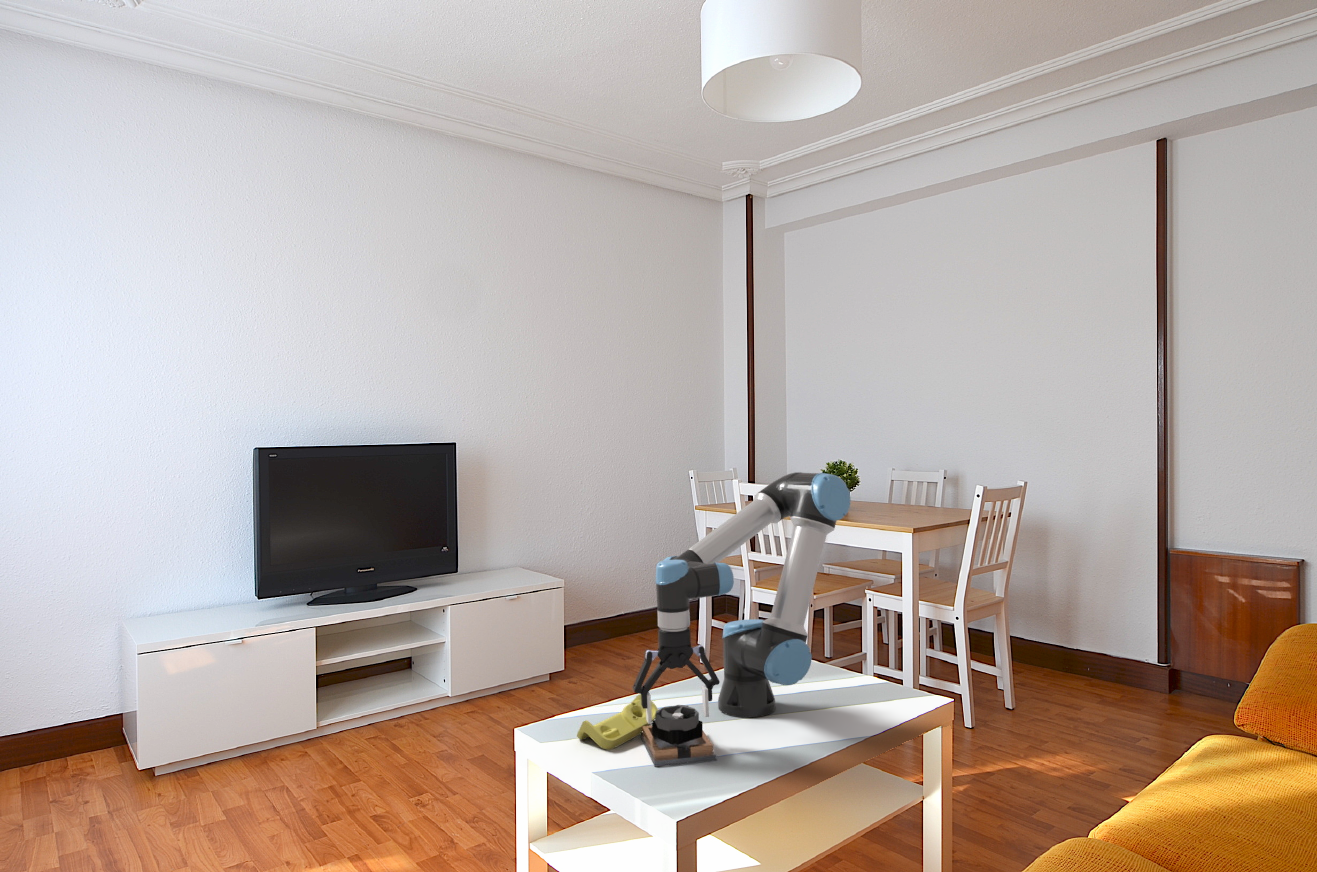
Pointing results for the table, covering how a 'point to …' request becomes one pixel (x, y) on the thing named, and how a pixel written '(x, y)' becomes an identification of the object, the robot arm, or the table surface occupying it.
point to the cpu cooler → (677, 724)
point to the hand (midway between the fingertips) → (677, 718)
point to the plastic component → (618, 726)
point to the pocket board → (677, 750)
